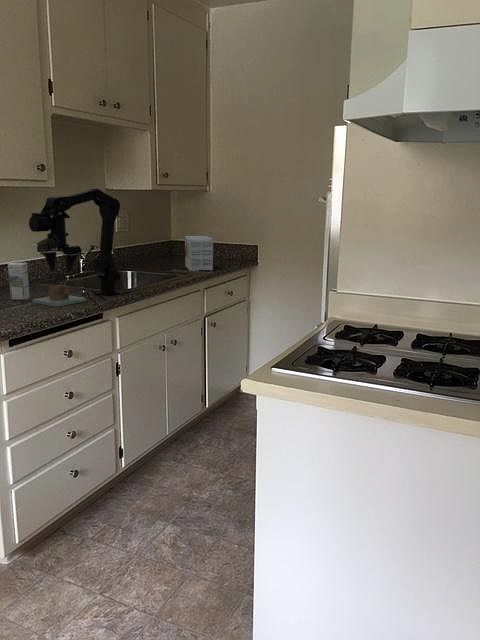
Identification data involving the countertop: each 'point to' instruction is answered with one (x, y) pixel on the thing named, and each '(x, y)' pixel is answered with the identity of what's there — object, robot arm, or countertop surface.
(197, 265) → the supplement box
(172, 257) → the countertop surface
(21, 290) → the syrup box
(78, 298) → the plate
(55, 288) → the walnut cube
